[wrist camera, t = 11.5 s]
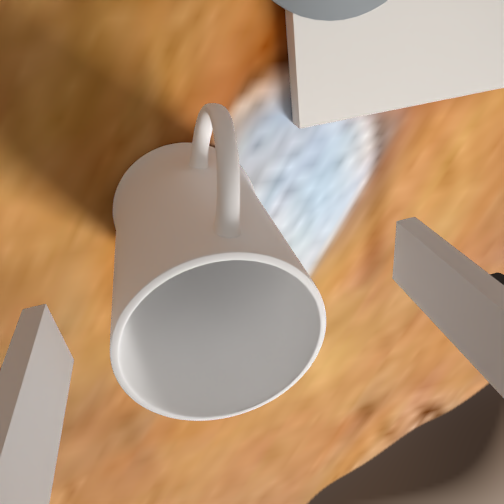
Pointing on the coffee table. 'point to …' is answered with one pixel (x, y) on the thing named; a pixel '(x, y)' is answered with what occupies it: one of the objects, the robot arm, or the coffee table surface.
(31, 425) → the robot arm
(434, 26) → the stand board
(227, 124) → the mug
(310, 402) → the coffee table surface
